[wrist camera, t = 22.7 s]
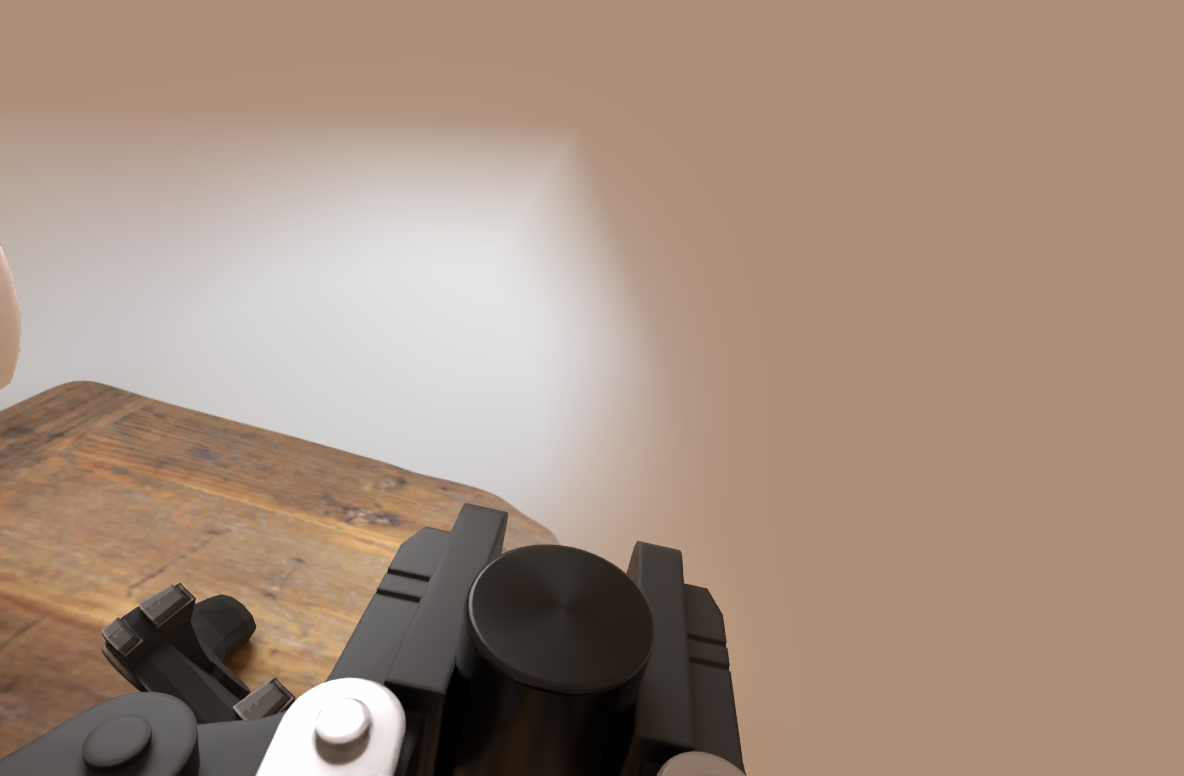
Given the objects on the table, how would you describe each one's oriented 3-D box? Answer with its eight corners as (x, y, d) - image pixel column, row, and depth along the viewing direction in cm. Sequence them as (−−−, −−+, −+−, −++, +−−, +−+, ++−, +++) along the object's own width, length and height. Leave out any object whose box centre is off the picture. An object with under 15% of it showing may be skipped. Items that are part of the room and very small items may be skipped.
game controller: (148, 691, 40) (31, 630, 33) (242, 602, 44) (156, 528, 36) (310, 883, 33) (209, 860, 26) (407, 759, 37) (343, 708, 29)
